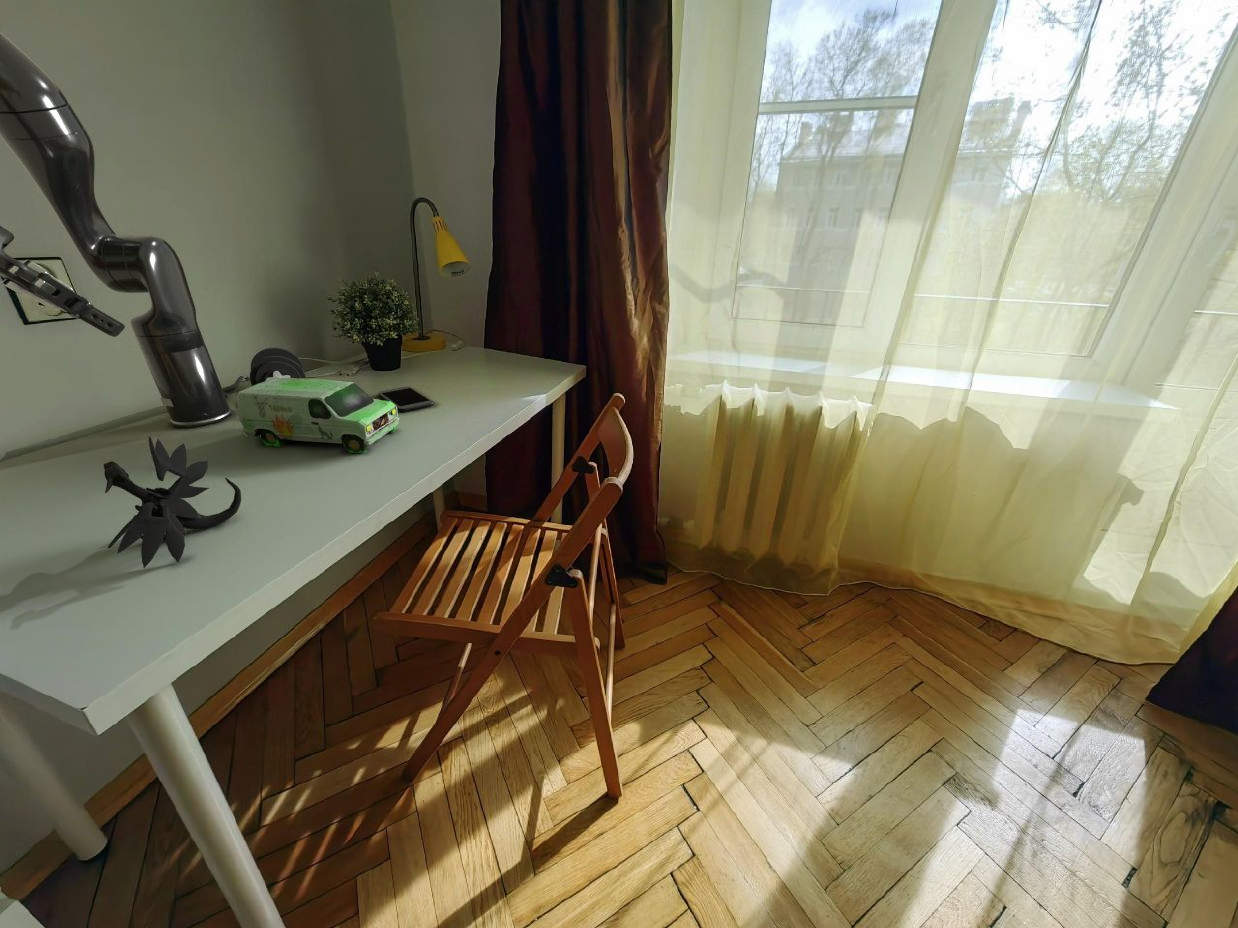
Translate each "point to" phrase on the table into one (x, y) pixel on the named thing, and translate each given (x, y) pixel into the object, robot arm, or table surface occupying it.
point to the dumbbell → (275, 365)
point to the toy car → (315, 413)
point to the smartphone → (406, 398)
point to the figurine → (165, 504)
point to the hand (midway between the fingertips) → (119, 331)
